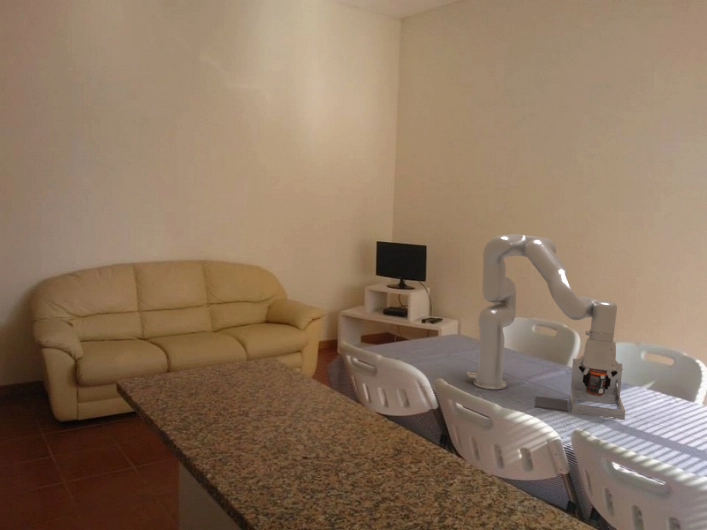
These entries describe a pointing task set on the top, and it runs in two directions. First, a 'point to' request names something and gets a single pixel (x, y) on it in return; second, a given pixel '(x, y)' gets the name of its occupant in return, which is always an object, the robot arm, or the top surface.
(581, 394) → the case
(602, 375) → the supplement bottle
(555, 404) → the mat
